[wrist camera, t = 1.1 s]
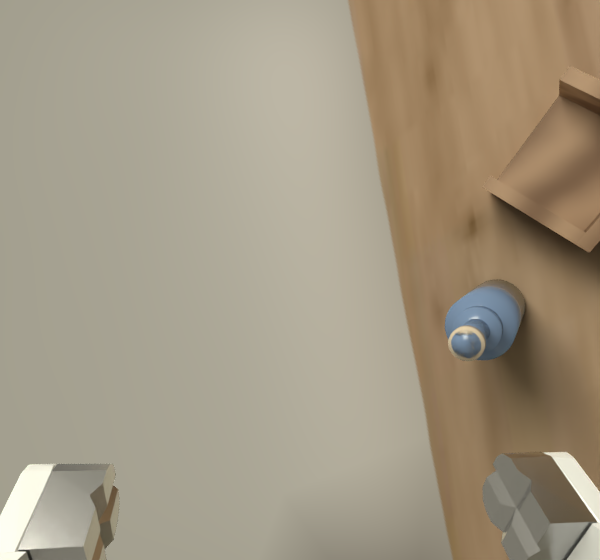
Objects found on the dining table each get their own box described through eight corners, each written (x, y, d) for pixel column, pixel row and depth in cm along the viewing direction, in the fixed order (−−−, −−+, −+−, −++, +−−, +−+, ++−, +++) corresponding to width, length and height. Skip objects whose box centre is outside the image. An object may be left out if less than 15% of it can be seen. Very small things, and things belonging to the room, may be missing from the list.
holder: (489, 191, 46) (481, 186, 41) (568, 85, 42) (569, 65, 37) (585, 249, 42) (589, 252, 37) (681, 140, 38) (700, 126, 33)
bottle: (510, 271, 46) (485, 293, 30) (535, 319, 45) (523, 367, 30) (460, 292, 48) (414, 323, 33) (483, 338, 48) (447, 391, 32)
